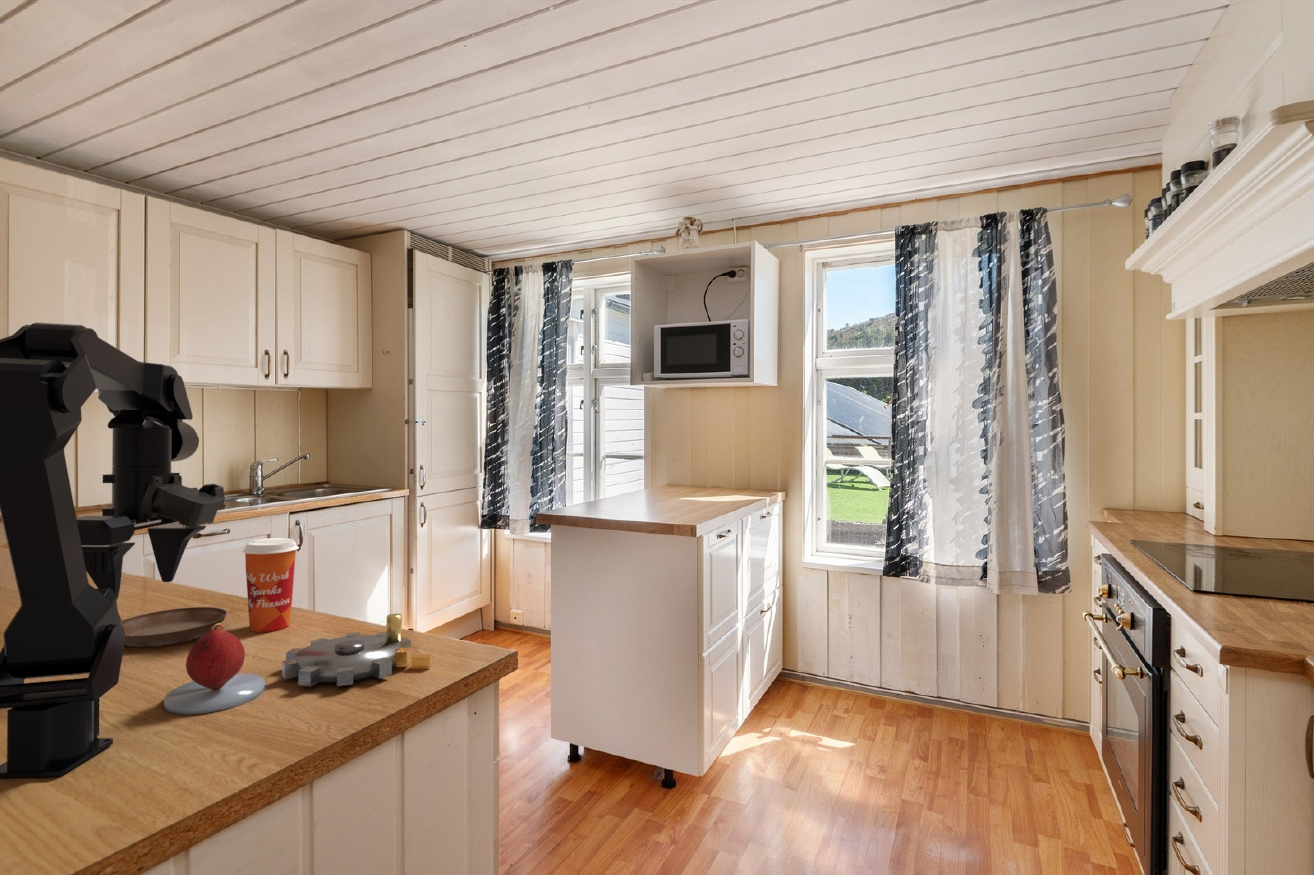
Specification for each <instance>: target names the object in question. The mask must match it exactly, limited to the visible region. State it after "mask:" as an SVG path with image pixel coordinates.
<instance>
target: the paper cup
mask: <svg viewBox="0 0 1314 875" xmlns="http://www.w3.org/2000/svg"><path fill="white" fill-rule="evenodd" d="M244 547H245V548H244V549H243V550H242V552H243V554H245V557H244V558H245V576H246V591H247V594H246V595H247V608H248V610H247V611H248V620H249V621H248V622H249V629H250V630H249V631H251V630H252V631H255V632H254V633H270V632H271V631H272V632H276V631H281V630H285V629H286V628H288V627H289V626H290V625H291V624H290V623H291V617H292V615H291V614H292V607H293V606H292V604H293V593H294V592H293V591H294V579H295V578H294V576H295V569H296V568H295V565H296V552H297V550H299V548H300V547H299V546H298V545H297V542H296V541H295V539H293V538H291V537H290V538H289V537H287V538H286V537H273V538H272V537H270V538H261V539H254V540H251V541H249V542H247V543H246V544H245V546H244ZM252 631H251V632H252Z"/></svg>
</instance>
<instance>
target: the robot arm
mask: <svg viewBox="0 0 1314 875" xmlns="http://www.w3.org/2000/svg"><path fill="white" fill-rule="evenodd" d="M96 389H97V390H98V394H97V396H98V397H97V399H98V400H99V401H101V402H102V403H103V404H104V405H106V408H107V409H108V411H109V413H112V415H113V417H112V418H111V419H110V420H109V421H108V422H107V428H108V429H111V430H112V453H111V454H112V456H111V457H112V458H111V461H112V464H111V465H112V467H111V468H112V469H111V473H110V474H109V473H108V474H102V484H111V507H106V508H102V514H101V515H82V516H77V514H76V510H75V504H74V498H73V494H72V493H73V492H72V487H71V482H70V476H69V471H68V466H67V460H66V455H65V448H66V446H67V445H68V443H69V442H70V440H71V438H72V437H73V435H74V433H75V432H76V430H77V429H78V427H79V426H80V425H81V423H82V419H83V416H82V407H83V405H84V404H85V403H86V402H87V400H88V399H89V398H90V397H91V396H92V394H93V393H94V392H95V390H96ZM193 417H194V416H193V412H192V408H191V405H190V401H189V397H188V393H187V389H186V386H185V382H184V379H183V377H182V376H181V375H179V373H178V371H177V370H176V369H175V368H174V367H173V366H171V365H167V364H162V363H156V362H155V363H153V362H144V361H138V360H137V359H136V358H134V357H132V356H130V354H127V353H125V352H123V351H122V350H120V349H119V348H117V347H115V346H113V345H112V344H111V343H108V341H105V340H104V339H102V338H100V337H99V335H98V333H97V332H96V331H95V330H94V329H93V328H89V327H86V326H85V325H81V324H65V323H51V322H49V323H47V322H34V323H31V324H24V325H23V326H21V327H20V328H19V329H18V330H17V331H15V333H12V335H8V336H6V337H3V338H0V516H1V520H2V525H3V529H4V534H5V538H6V544H7V549H8V552H9V557H10V561H11V566H12V569H13V574H14V578H15V583H16V588H17V592H18V596H19V602H20V606H19V608H18V610H17V611H16V613H15V614H14V616H13V618H12V619H11V621H10V622H9V624H8V625H7V627H6V628H5V629H4V632H3V635H2V636H3V637H2V638H3V645H2V646H3V647H2V648H1V649H0V710H2V709H3V710H5V709H8V710H7V712H6V713H7V714H6V717H7V718H6V719H7V720H6V724H7V725H6V730H7V731H6V761H5V762H4V763H2V764H0V778H20V777H21V778H22V777H23V778H26V777H27V778H30V777H31V778H32V777H33V778H34V777H42V778H43V777H59V776H62V775H65V774H66V773H67V772H69V771H71V770H73V769H74V768H77V767H78V766H79V765H81V764H83V763H84V762H86V761H87V760H90V758H92V757H94V756H95V755H97V754H99V753H100V752H102V751H104V750H106V749H107V748H108V747H110V746H112V745H113V744H114V738H112V737H99V735H100V698H101V697H103V696H104V695H105V694H106V693H108V691H111V690H112V689H113V688H114V687H115V686H116V685H117V684H118V683H119V679H120V675H121V674H120V673H121V667H122V661H123V653H124V648H125V644H124V643H125V630H124V628H123V626H122V625H120V623H119V622H120V621H122V618H121V616H120V614H119V610H118V602H117V601H118V599H119V594H120V590H121V582H122V571H123V562H124V556H126V554H127V553H128V552H129V551H130V550H131V549H132V548H133V547H134V546H135V545H136V542H129V541H131V539H132V537H133V535H134V534H135V532H136V531H139V530H144V529H147V532H148V536H149V537H148V538H149V541H150V544H151V547H152V551H153V555H154V559H155V562H156V563H155V564H156V568H157V571H158V574H159V577H160V579H161V582H162V583H171V582H173V581H174V579H175V576H176V573H177V571H178V569H179V565H180V563H181V559H182V558H183V556H184V553H185V550H186V548H187V545H189V544H188V543H189V541H190V540H191V539H192V538H193V537H195V536H196V535H197V534H198V533H199V532H201V531H204V530H205V529H206V528H207V525H206V524H213V523H214V520H215V517H216V515H217V513H218V511H222V510H225V509H226V506H227V505H226V503H225V501H226V500H225V499H226V498H225V489H224V486H221V485H219V484H216V483H207V484H204V485H202V487H200V488H197V487H188V486H184V485H183V476H182V475H180V472H172V463H173V462H180V461H184V460H187V459H188V458H190V457H192V456H193V455H194V454H195V453H196V452H197V450H198V448H199V444H200V439H199V438H200V437H199V435H198V433H197V431H196V430H195V428H194V427H193V426H192V425H190V424H189V423H186V422H185V421H183V420H193ZM88 576H89V577H90V579H91V580H92V582H93V583H94V585H95V586H96V588H94V586H92V585H91V584H90V583H89V578H88ZM75 675H76V676H77V675H88V676H87V677H83V678H82V677H79V678H78V677H77V678H69V679H58V680H47V681H44V680H43V681H34V682H33V681H32V682H25V680H30V679H42V678H53V677H54V678H55V677H65V676H75Z"/></svg>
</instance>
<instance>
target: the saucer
mask: <svg viewBox="0 0 1314 875" xmlns="http://www.w3.org/2000/svg"><path fill="white" fill-rule="evenodd" d="M228 614H229V612H228V611H227V610H226V609H225V608H220V607H211V606H197V607H196V606H195V607H194V606H193V607H192V606H191V607H181V608H171V609H170V608H169V609H166V610H158V611H153V612H148V613H143V614H139V615H136V616H132V617H129V618H126V619H121V621H120V622H119V623H120V625H122V626H123V628H124V630H125V643H124V646H127V647H132V646H133V648H134V647H135V648H155V647H156V646H157V647H163V645H166V646H171V645H170V644H172V645H178V644H182V643H181V642H183V643H186V642H185V641H187V642H190V641H189V640H191V641H193V640H192V639H195V640H197V638H198V639H200V638H201V637H202V636H204V635H205V634H207V633H208V632H209V631H210V629H211V628H212V627H213V626H214V625H215V624H217V623H222V622H224V620H225V619H226V617H227V616H228ZM177 643H178V644H177Z"/></svg>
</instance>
